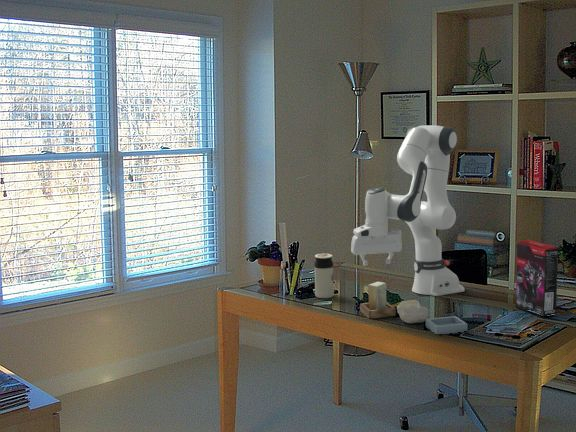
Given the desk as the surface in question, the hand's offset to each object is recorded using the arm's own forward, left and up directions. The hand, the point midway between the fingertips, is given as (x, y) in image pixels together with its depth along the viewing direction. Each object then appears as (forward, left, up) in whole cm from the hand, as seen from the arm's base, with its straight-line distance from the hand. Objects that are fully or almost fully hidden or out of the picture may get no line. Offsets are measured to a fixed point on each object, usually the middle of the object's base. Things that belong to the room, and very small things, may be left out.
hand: (376, 264), depth 309 cm
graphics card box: (-59, +18, -20) cm, 65 cm away
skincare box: (0, 0, -20) cm, 20 cm away
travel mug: (+13, -31, -20) cm, 39 cm away
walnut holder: (0, 0, -20) cm, 20 cm away
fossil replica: (-9, +15, -20) cm, 27 cm away
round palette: (-38, +38, -21) cm, 58 cm away
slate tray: (-17, +27, -20) cm, 38 cm away
